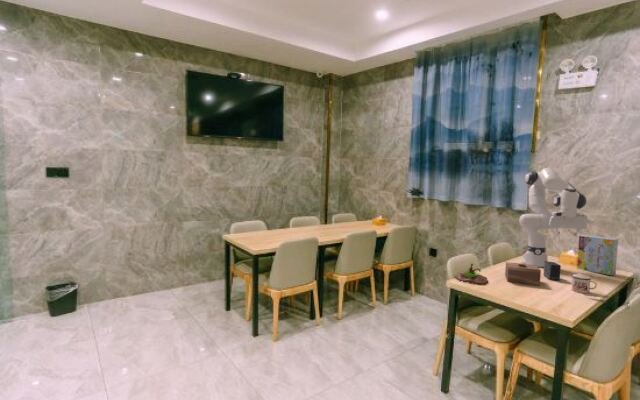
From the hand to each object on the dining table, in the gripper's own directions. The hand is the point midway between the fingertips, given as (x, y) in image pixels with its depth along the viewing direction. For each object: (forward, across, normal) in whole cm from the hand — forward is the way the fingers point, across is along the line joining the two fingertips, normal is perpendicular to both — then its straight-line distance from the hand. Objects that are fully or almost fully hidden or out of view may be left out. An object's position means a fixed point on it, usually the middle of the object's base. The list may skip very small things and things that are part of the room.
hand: (566, 234), depth 232 cm
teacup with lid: (+31, -6, +20) cm, 38 cm away
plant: (+32, +56, +26) cm, 69 cm away
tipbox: (+31, +26, +12) cm, 42 cm away
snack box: (+31, -29, -41) cm, 59 cm away
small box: (+31, +6, -5) cm, 32 cm away
